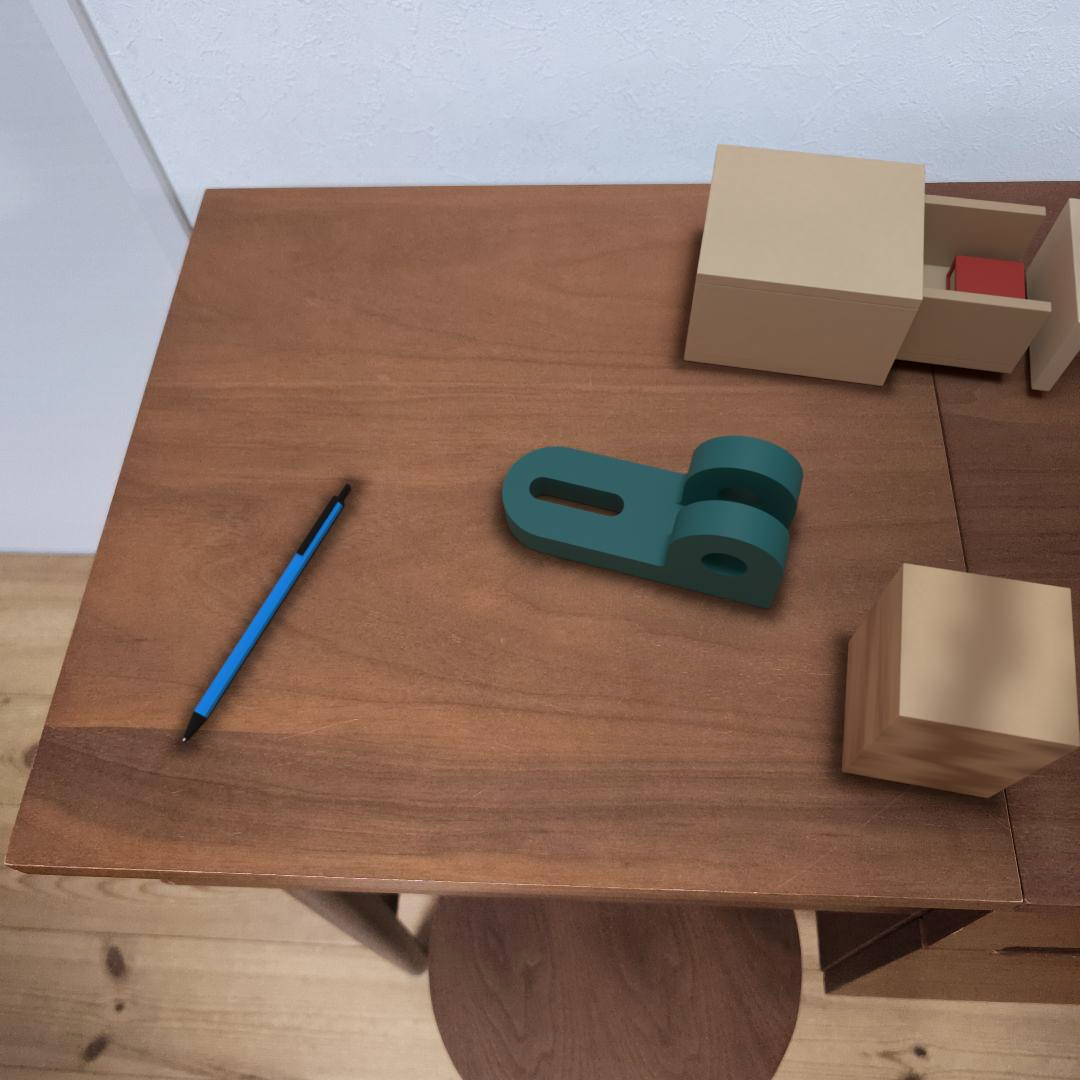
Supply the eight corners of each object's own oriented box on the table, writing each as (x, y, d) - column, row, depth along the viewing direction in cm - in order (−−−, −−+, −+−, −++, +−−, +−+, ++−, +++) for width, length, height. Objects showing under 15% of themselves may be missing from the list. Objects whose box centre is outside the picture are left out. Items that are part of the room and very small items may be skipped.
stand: (985, 664, 56) (1071, 587, 46) (988, 798, 52) (1081, 746, 43) (848, 641, 57) (903, 562, 47) (841, 772, 53) (899, 715, 44)
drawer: (1118, 282, 67) (1172, 208, 61) (1131, 402, 63) (1190, 335, 57) (864, 253, 70) (891, 178, 64) (858, 367, 65) (886, 298, 59)
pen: (355, 491, 63) (352, 482, 62) (192, 746, 56) (185, 741, 55) (344, 486, 64) (340, 477, 63) (179, 739, 56) (172, 734, 55)
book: (1012, 282, 66) (1024, 262, 65) (1014, 349, 64) (1027, 330, 62) (946, 275, 67) (956, 254, 65) (945, 341, 64) (956, 321, 62)
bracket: (787, 516, 61) (814, 450, 54) (768, 609, 58) (794, 552, 51) (522, 454, 64) (514, 384, 57) (491, 540, 61) (479, 477, 54)
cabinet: (887, 259, 71) (925, 164, 63) (882, 386, 65) (923, 299, 57) (702, 238, 72) (717, 143, 64) (683, 360, 67) (696, 272, 59)
